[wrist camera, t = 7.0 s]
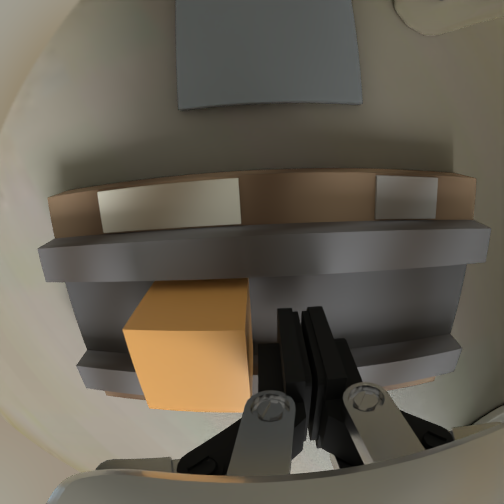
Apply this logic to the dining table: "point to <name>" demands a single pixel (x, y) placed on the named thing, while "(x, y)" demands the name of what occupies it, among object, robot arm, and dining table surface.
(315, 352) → the robot arm
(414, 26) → the milkshake
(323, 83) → the mat
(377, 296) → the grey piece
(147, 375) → the switch tab
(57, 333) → the dining table surface
